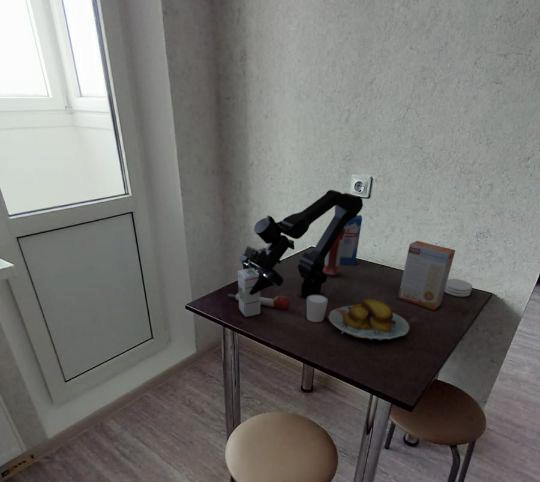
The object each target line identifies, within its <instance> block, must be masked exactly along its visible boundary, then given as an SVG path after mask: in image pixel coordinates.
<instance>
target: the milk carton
mask: <svg viewBox="0 0 540 482" xmlns="http://www.w3.org/2000/svg"><path fill="white" fill-rule="evenodd" d="M362 222H363V216H362V215H361V214H360V215H358V214H357V216H356V217H355V218H353V219H351V220H350V221H348V222H347V223H346V225H345V226H344V228H345V235H344V241H343V246H342V251H341V257H340V263H339V265H349V266H355V265H356V261H357V254H358V248H359V241H360V237H361V229H362V224H363V223H362Z"/></svg>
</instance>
